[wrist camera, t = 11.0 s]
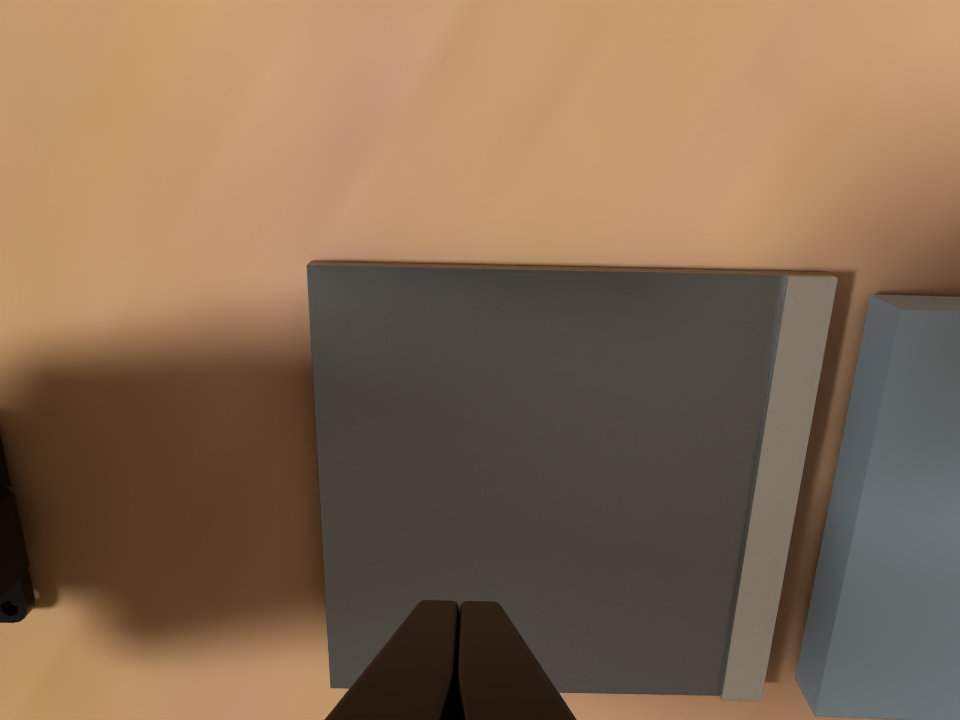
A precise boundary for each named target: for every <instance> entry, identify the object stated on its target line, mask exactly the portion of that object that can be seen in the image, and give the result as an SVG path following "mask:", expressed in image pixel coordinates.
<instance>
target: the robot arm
mask: <svg viewBox="0 0 960 720" xmlns="http://www.w3.org/2000/svg"><path fill="white" fill-rule="evenodd" d="M28 568H29V562H28V557H27V552H26V548H25V543H24V538H23V533H22V528H21V523H20V519H19V514H18V509H17V504H16V499H15V495H14V493H13V491H12V489H11V484H10V480H9V475H8V470H7V465H6V460H5V456H4V451H3V446H2V441H1V436H0V623H14V622H19V621H21V620H23V619H24V618H25V617H26V616H27V615H28V614H29V613H30V611H31V610H32V609H33V607H34V605H35V599H34V595H33V590H32V585H31V580H30V575H29V571H28ZM10 602H13V603H15V604H16V605H17V606H14V605H13V604H11V603H10ZM325 720H576V718H575V717H574V715H573V714H572V712H571V711H570V709H569V708H568V706H567V704H566V703H565V701H564V700H563V698H562V697H561V695H560V694H559V692H558V691H557V689H556V688H555V686H554V685H553V683H552V682H551V680H550V679H549V677H548V676H547V674H546V673H545V671H544V670H543V668H542V667H541V665H540V664H539V662H538V661H537V659H536V658H535V656H534V655H533V653H532V652H531V650H530V649H529V647H528V645H527V644H526V642H525V641H524V639H523V638H522V636H521V635H520V633H519V632H518V630H517V629H516V627H515V626H514V624H513V623H512V621H511V620H510V618H509V617H508V615H507V614H506V612H505V611H504V609H503V608H502V606H501V605H500V604H499V603H497V602H494V601H464V602H463V603H462V604H461V605H460V612H459V605H458V603H457V602H455V601H451V600H423V601H421V602H419V603H418V604H417V606H416V607H415V608H414V609H413V611H412V612H411V613H410V614H409V615H408V617H407V618H406V619H405V620H404V622H403V623H402V624H401V625H400V627H399V628H398V629H397V630H396V632H395V633H394V634H393V635H392V637H391V638H390V639H389V640H388V642H387V643H386V644H385V645H384V647H383V648H382V649H381V650H380V652H379V653H378V654H377V655H376V657H375V658H374V659H373V660H372V661H371V663H370V664H369V665H368V666H367V668H366V669H365V670H364V671H363V673H362V674H361V675H360V676H359V678H358V679H357V680H356V681H355V683H354V684H353V685H352V686H351V688H350V689H349V690H348V691H347V693H346V694H345V695H344V696H343V697H342V699H341V700H340V701H339V702H338V704H337V705H336V706H335V707H334V709H333V710H332V711H331V712H330V714H329V715H328V716H327V717H326V719H325Z"/></svg>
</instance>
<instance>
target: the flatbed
mask: <svg viewBox="0 0 960 720" xmlns="http://www.w3.org/2000/svg"><path fill="white" fill-rule="evenodd" d="M307 279H308V296H309V314H310V332H311V350H312V367H313V385H314V403H315V420H316V438H317V456H318V473H319V491H320V509H321V526H322V544H323V562H324V580H325V597H326V615H327V633H328V650H329V668H330V686H331V688H351V686H352V685H353V684H354V683H355V681H356V680H357V679H358V678H359V676H360V675H361V674H362V673H363V671H364V670H365V669H366V668H367V666H368V665H369V664H370V663H371V661H372V660H373V659H374V658H375V657H376V655H377V654H378V653H379V652H380V650H381V649H382V648H383V647H384V645H385V644H386V643H387V642H388V640H389V639H390V638H391V637H392V635H393V634H394V633H395V632H396V630H397V629H398V628H399V627H400V625H401V624H402V623H403V622H404V620H405V619H406V618H407V617H408V615H409V614H410V613H411V612H412V611H413V609H414V608H415V607H416V606H417V604H418V603H419V602H421V601H423V600H451V601H455V602H457V603H458V605H459V612H460V605H461V604H462V603H463V602H464V601H494V602H497V603H499V604H500V605H501V606H502V608H503V609H504V611H505V612H506V614H507V615H508V617H509V618H510V620H511V621H512V623H513V624H514V626H515V627H516V629H517V630H518V632H519V633H520V635H521V636H522V638H523V639H524V641H525V642H526V644H527V645H528V647H529V649H530V650H531V652H532V653H533V655H534V656H535V658H536V659H537V661H538V662H539V664H540V665H541V667H542V668H543V670H544V671H545V673H546V674H547V676H548V677H549V679H550V680H551V682H552V683H553V685H554V686H555V688H556V689H557V691H558V692H559V693H610V694H661V695H713V696H720V698H721V701H761V700H762V695H763V689H764V684H765V678H766V672H767V667H768V661H769V656H770V650H771V645H772V639H773V634H774V628H775V623H776V617H777V612H778V606H779V601H780V595H781V590H782V584H783V579H784V573H785V568H786V562H787V556H788V551H789V545H790V540H791V534H792V529H793V523H794V518H795V512H796V507H797V501H798V496H799V490H800V485H801V479H802V474H803V468H804V463H805V457H806V451H807V446H808V440H809V435H810V429H811V424H812V418H813V413H814V407H815V402H816V396H817V391H818V385H819V380H820V374H821V369H822V363H823V358H824V352H825V346H826V341H827V335H828V330H829V324H830V319H831V313H832V308H833V302H834V297H835V291H836V286H837V280H838V278H837V277H835V276H833V275H831V274H829V273H827V272H814V271H766V270H718V269H670V268H623V267H575V266H527V265H480V264H432V263H384V262H336V261H311V262H310V263H308V264H307Z"/></svg>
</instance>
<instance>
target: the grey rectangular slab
mask: <svg viewBox="0 0 960 720" xmlns="http://www.w3.org/2000/svg"><path fill="white" fill-rule="evenodd" d="M795 679H796V681H797V683H798V685H799V687H800V689H801V690H802V692H803V694H804V696H805V698H806V700H807V702H808V704H809V706H810V708H811V710H812V712H813V714H814V716H824V717H851V718H879V719H907V720H960V297H954V296H916V295H877V294H871V295H870V300H869V305H868V310H867V315H866V320H865V325H864V330H863V335H862V341H861V346H860V351H859V356H858V361H857V366H856V371H855V376H854V381H853V386H852V391H851V396H850V401H849V407H848V412H847V417H846V422H845V427H844V432H843V437H842V442H841V447H840V452H839V457H838V462H837V467H836V472H835V478H834V483H833V488H832V493H831V498H830V503H829V508H828V513H827V518H826V523H825V528H824V533H823V538H822V544H821V549H820V554H819V559H818V564H817V569H816V574H815V579H814V584H813V589H812V594H811V599H810V604H809V609H808V615H807V620H806V625H805V630H804V635H803V640H802V645H801V650H800V655H799V660H798V665H797V670H796V675H795Z"/></svg>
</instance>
